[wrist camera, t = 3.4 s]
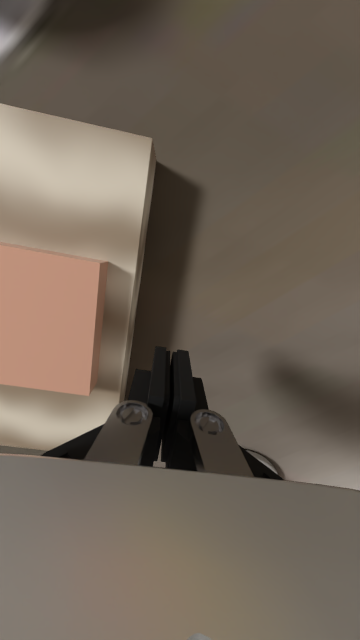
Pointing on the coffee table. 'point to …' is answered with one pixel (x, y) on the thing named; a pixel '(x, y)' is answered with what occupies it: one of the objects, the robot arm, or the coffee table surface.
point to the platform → (75, 249)
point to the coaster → (50, 319)
